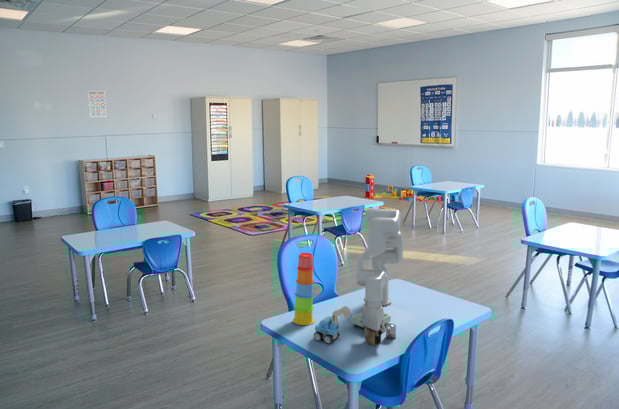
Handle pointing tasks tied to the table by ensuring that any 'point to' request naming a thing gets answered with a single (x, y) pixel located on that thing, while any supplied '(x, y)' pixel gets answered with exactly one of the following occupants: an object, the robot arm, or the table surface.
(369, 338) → the walnut block
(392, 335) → the grey metal cylinder
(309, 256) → the stacking cups
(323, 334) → the toy excavator
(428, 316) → the table surface
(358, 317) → the parts cart
